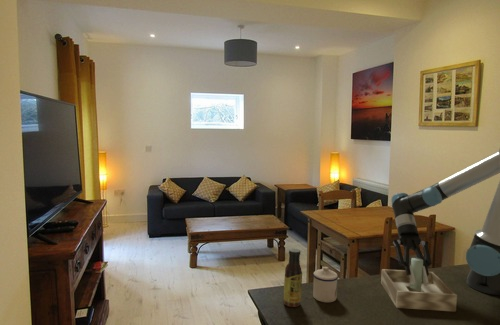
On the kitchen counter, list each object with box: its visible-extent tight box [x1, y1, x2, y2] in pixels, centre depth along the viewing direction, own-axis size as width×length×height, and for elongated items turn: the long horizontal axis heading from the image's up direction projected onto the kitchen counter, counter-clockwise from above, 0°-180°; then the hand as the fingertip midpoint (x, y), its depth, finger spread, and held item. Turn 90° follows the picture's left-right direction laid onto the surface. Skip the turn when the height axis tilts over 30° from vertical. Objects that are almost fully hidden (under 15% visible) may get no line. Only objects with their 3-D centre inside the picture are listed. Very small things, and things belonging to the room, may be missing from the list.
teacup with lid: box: [312, 266, 339, 303], centre depth 130 cm, size 12×9×12 cm
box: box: [380, 268, 458, 312], centre depth 130 cm, size 20×20×6 cm
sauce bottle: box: [283, 248, 303, 308], centre depth 123 cm, size 6×6×20 cm
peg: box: [410, 257, 423, 290], centre depth 130 cm, size 4×4×11 cm
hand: (419, 283), depth 126 cm, fingers closed on peg, 4 cm apart
